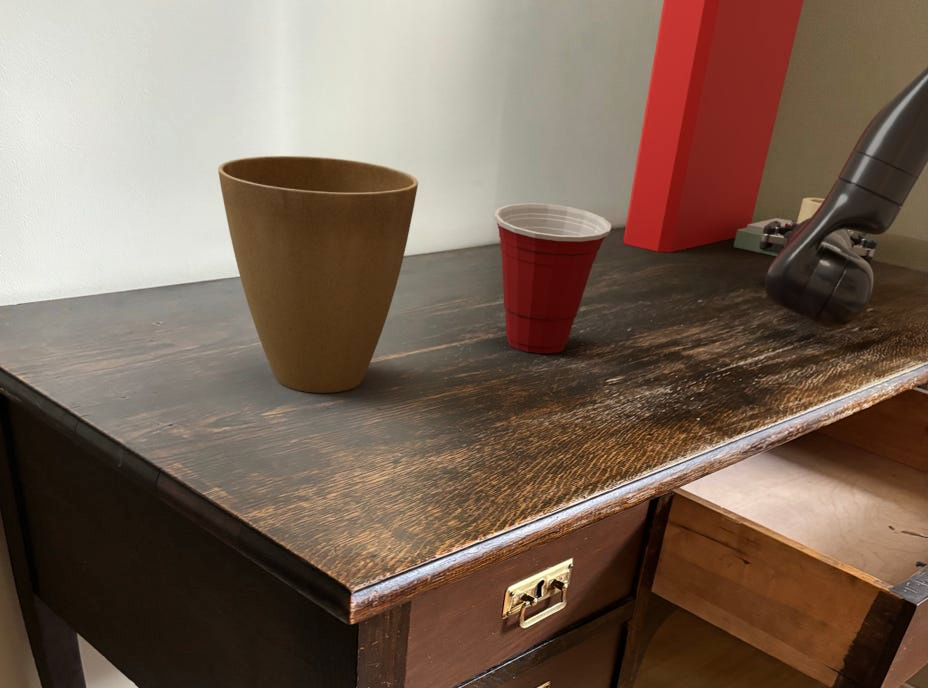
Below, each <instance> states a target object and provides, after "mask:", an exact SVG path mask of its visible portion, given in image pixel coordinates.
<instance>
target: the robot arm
mask: <svg viewBox="0 0 928 688" xmlns="http://www.w3.org/2000/svg"><path fill="white" fill-rule="evenodd" d="M927 166H928V64H927V65H926V66H925V67H924V68H922V70H921V71H920V72H919V73H918V74H917V75H916V76H914V77H913V78H912V79H911V80H910V81H909V82H908V83H907V84H905V85H904V86H903V87H902V88H901V89H900V90H899V91H898V92H897V93H896V94H895V95H893V96H892V97H891V98H890V99H889V100H888V101H887V102H886V103H885V104H884V106H882V108H881V109H880V110H879V111H878V112H877V113H876V114H875V115H874V116H873V118H872V119H871V120H870V121H869V123H868V124H867V126H866V128H865V129H864V130H863V132H862V133H861V135H860V136H859V138H858V140H857V141H856V143H855V145H854V147H853V149H852V151H851V153H850V154H849V156H848V158H847V160H846V162H845V163H844V165H843V167H842V169H841V170H840V172H839V175H838V176H837V179H836V180H835V182H834V184H833V185H832V187H831V189H830V191H829V192H828V194H827V196H826V197H825V198H824V199H825V200H824V201H823V203H822V204H821V206H820V207H819V208H818V210H817V211H816V212H815V213H814V215H813V216H812V217H811V218H808V219H806V220H804V221H803V222H801V223H797V221H798V220H795V219H792V220H791V221H792V222H789V223H786V224H785V226H781V223H780V222H779V221H772V222H770V223H769V224H767V225H766V226H764V229H763V233H762V237H761V242H760V246H759V247H760V248H762V249H769V248H770V247H771V248H774V245H775V244H780V245H781V248H782V250H781V251H780V253H779V254H778V255H777V256H775V257H774V258H773V260H772V262H771V263H770V265H769V266H768V269H767V271H766V273H765V277H764V278H765V279H764V291H765V292H764V293H765V294H766V297H767V299H768V300H769V301H770V302H772V303H773V304H774V305H776V306H779V307H781V308H783V309H786V310H787V311H790V312H792V313H794V314H797V315H799V316H801V317H802V318H805V319H807V320H809V321H812V322H813V323H815V324H817V325H819V326H822V327H824V328H829V329H836V328H837V329H839V328H842V327H845V326H848V325H850V324H851V323H853V322H854V321H855V320H856V319H857V318H858V317H859V316H860V315H861V314H862V313H863V312H864V310H865V309H866V307H867V306H868V304H869V301H870V300H871V297H872V294H873V289H874V282H875V281H874V272H873V269H872V266H871V265H870V264H872V263H873V259H874V255H875V251H876V249H877V245H878V241H877V240H876V239H874V237H872V236H871V235H873V236H877V235H883V234H884V233H887V231H888V230H889V229H891V227H892V225H893V224H894V222H895V221H896V219H897V217H898V216H899V214H900V212H901V211H902V207H904V206H905V204H906V202H907V201H908V199H909V197H910V196H911V193H912V192H913V189H914V188H915V187H916V185H917V184H918V181H919V180H920V178H921V176H922V175H923V173H924V172H925V169H926V168H927ZM855 232H858V236H855Z"/></svg>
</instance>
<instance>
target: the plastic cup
mask: <svg viewBox="0 0 928 688" xmlns="http://www.w3.org/2000/svg"><path fill="white" fill-rule="evenodd" d="M493 218H494V221H495V222H496V225H497V229H498V236H499V239H500V250H501V264H502V265H501V266H502V285H503V286H502V288H503V307H504V309H505V312H504V313H505V335H506V337H507V339H506V340H507V344H508V345H509V346H510V347H512V348H514V349H516V350H520V351H522V352H527V353H534V354H557V353H560V352H562V351H564V350H565V348H566V345H567V343H568V341H569V338H570V335H571V331H572V328H573V325H574V321H575V318H576V317H577V315H578V312H579V309H580V305H581V302H582V299H583V296H584V293H585V290H586V286H587V283H588V280H589V276H590V273H591V271H592V268H593V264H594V262H595V261H596V258H597V255H598V251H600V248H601V246H602V243H603V242H604V240H605V239H606V237H607V236H609V235H610V231H611V228H612V223H611V222H609V221H608V220H607V219H606V218H605V217H603V216H600V215H598V214H596V213H593V212H591V211H587V210H583V209H579V208H576V207H571V206H565V205H558V204H550V203H528V202H526V203H525V202H524V203H516V204H515V203H514V204H507V205H505V206H502V207H498V208H496V210H495V212H494V214H493Z"/></svg>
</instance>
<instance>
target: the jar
mask: <svg viewBox="0 0 928 688" xmlns="http://www.w3.org/2000/svg"><path fill="white" fill-rule="evenodd" d="M824 200H825V198H820V197H805V198H803V199H802V201H801V205H800V210H799V213H798V214H799V215H798V218H797V220H796V221H797V223H801V222H803V221H804V220H806V219H808V218H811V217H812V216H813V215H814V213H815V212H816V211H817V210H818V208H819V207H820V206H821V204H822V203H823V201H824Z"/></svg>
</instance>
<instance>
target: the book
mask: <svg viewBox="0 0 928 688" xmlns="http://www.w3.org/2000/svg"><path fill="white" fill-rule="evenodd" d="M804 1H805V0H663V1H662V2H663V3H662V9H661V15H660V21H659V25H658V32H657V39H656V45H655V49H654V55H653V62H652V68H651V74H650V79H649V86H648V92H647V98H646V104H645V108H644V109H645V110H644V115H643V122H642V126H641V127H642V128H641V134H640V140H639V145H638V151H637V157H636V162H635V167H634V168H635V170H634V175H633V181H632V187H631V192H630V197H629V198H630V199H629V200H630V201H629V204H628V210H627V216H626V223H625V229H624V234H623V241H622V242H623V244H624V245H628V246H632V247H636V248H640V249H645V250H648V251H649V250H650V251H653V252H659V253H674V251H675V252H678V250H679V251H683V250H687V248H688V249H691V248H696V247H701V246H705V245H710V244H714V243H718V242H722V241H723V242H724V241H727V240H731V239H735V238H736V233H737V230H739V229H743V228H747V225H748V224H752V223H753V217H754V215H755V209H756V206H757V205H756V204H757V200H758V196H759V192H760V187H761V183H762V179H763V175H764V171H765V166H766V161H767V159H768V154H769V149H770V146H771V141H772V137H773V132H774V128H775V124H776V120H777V115H778V111H779V106H780V102H781V99H782V95H783V90H784V85H785V80H786V78H787V73H788V68H789V65H790V60H791V56H792V52H793V48H794V43H795V39H796V34H797V30H798V26H799V23H800V17H801V14H802V9H803V5H804Z"/></svg>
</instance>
